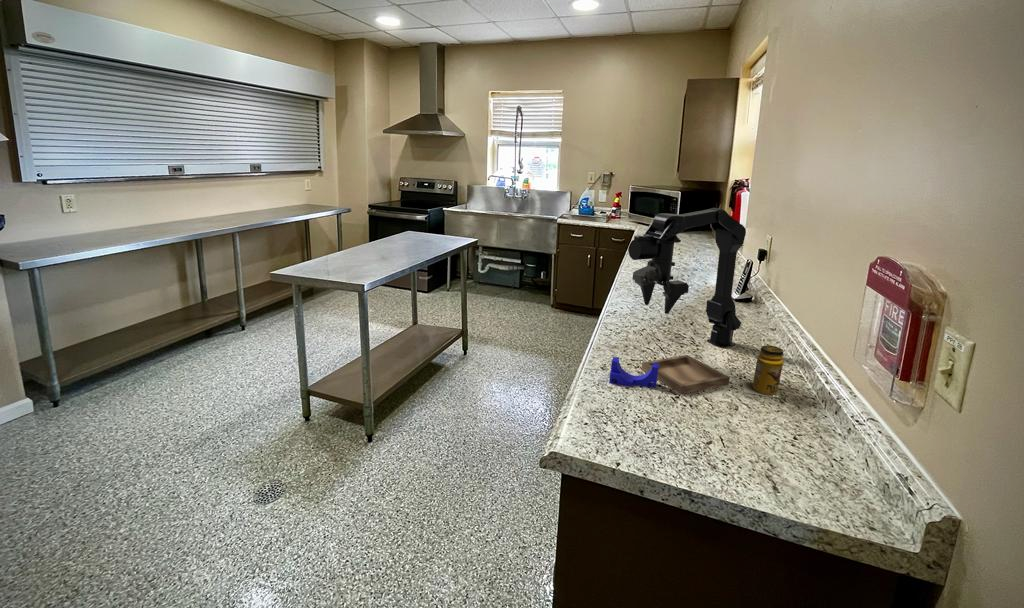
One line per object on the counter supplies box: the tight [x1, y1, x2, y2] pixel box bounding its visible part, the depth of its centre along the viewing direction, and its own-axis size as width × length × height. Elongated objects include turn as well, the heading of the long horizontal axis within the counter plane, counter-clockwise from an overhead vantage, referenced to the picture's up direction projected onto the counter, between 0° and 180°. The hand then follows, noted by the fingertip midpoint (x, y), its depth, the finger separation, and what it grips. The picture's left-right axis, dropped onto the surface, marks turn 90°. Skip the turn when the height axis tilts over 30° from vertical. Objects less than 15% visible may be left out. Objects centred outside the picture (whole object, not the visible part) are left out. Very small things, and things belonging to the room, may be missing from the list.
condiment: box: [741, 344, 784, 399], centre depth 131 cm, size 7×8×12 cm
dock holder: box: [641, 354, 731, 395], centre depth 139 cm, size 16×16×2 cm
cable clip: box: [608, 356, 659, 389], centre depth 134 cm, size 12×4×6 cm, turn 71°
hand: (656, 309), depth 150 cm, fingers open, 9 cm apart
